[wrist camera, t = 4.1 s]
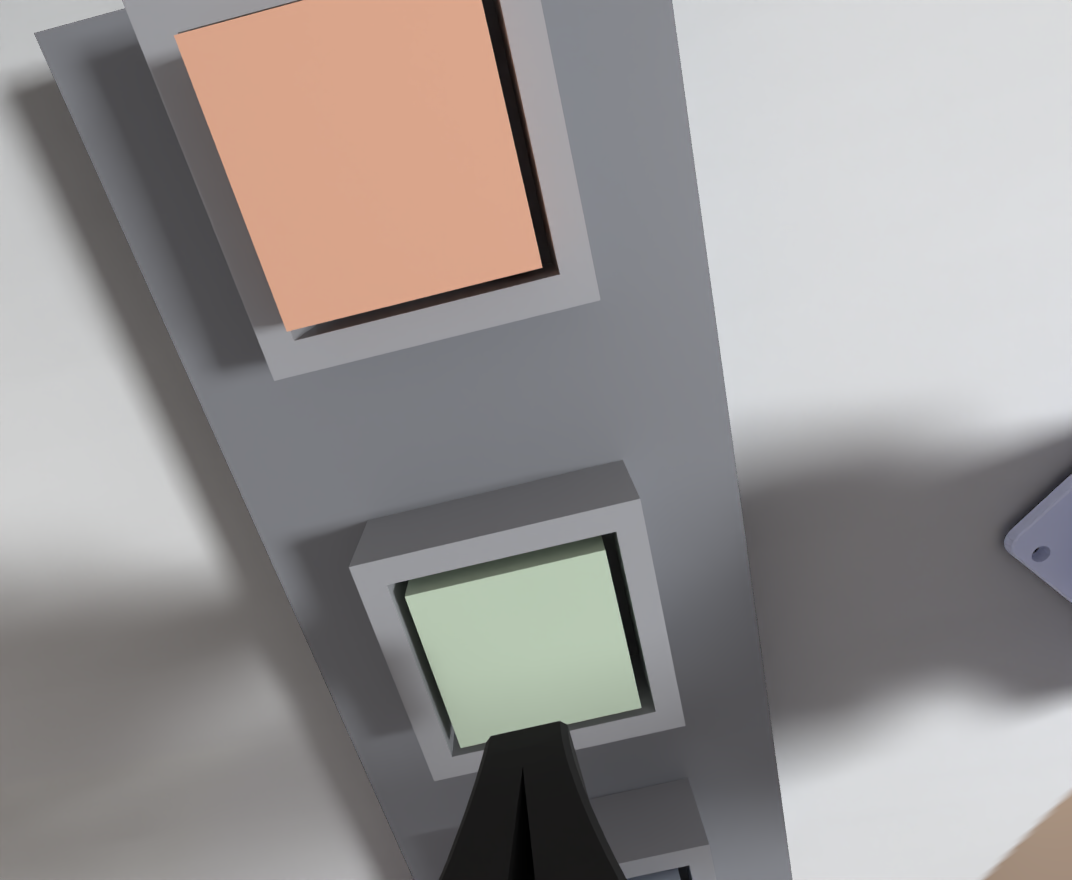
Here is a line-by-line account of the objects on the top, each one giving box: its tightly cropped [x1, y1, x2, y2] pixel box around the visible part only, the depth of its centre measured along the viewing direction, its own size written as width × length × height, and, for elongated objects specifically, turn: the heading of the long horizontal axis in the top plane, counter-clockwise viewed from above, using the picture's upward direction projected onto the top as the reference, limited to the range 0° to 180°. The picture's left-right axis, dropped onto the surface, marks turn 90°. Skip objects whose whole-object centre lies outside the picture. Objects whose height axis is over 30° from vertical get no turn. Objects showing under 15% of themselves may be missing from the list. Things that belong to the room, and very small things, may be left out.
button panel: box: [34, 0, 792, 880], centre depth 16 cm, size 27×11×4 cm, turn 13°
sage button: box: [405, 535, 641, 748], centre depth 15 cm, size 4×4×2 cm
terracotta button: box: [174, 0, 543, 332], centre depth 11 cm, size 4×4×2 cm
